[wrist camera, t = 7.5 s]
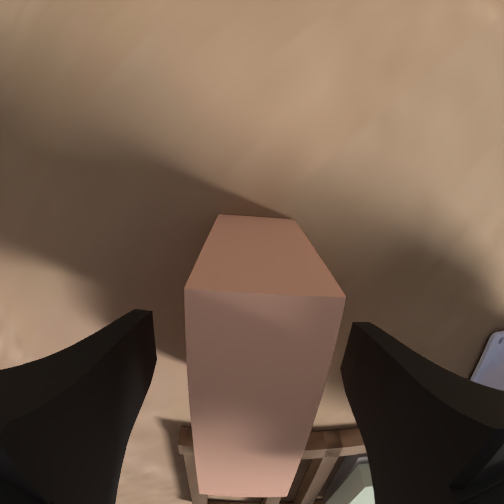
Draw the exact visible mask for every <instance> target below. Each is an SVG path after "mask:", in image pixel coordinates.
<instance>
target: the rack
mask: <svg viewBox="0 0 504 504" xmlns="http://www.w3.org/2000/svg"><path fill="white" fill-rule="evenodd" d="M178 450H179V454H183V455H184V461H185V467H186V473H187V478H188V483H189V489H190V494H191V499H192V504H324V502H323V499H322V500H315V499H316V498H317V496H318V494H319V492H320V491H321V489H322V487H323V485H324V484H325V482H326V480H327V478H328V476H329V474H330V472H331V471H332V469H333V467H334V465H335V463H336V461H337V459H338V457H339V456H347V455H355V454H363V453H366V449H365V445H364V442H363V439H362V436H361V433H360V431H359V428H353V429H342V430H330V431H313V432H310V435H309V438H308V441H307V444H306V447H305V450H304V453H303V455H302V458H301V459H312V460H311V462H310V465H309V467H308V470H307V472H306V474H305V477H304V479H303V481H302V483H301V486H300V488H299V490H298V492H297V495H296V497H295V499H294V501H293V502H280V499H281V497H263V498H262V501H261V503H248V502H225V501H212V500H208V497H207V495H206V494H199V487H198V480H197V472H196V464H195V455H194V446H193V436H192V428H191V427H183V426H181V431H180V436H179V441H178Z"/></svg>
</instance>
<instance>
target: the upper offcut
mask: <svg viewBox="0 0 504 504" xmlns="http://www.w3.org/2000/svg"><path fill="white" fill-rule="evenodd" d="M325 504H375V499H374V491H373V485H372V478H371V472H370V467H369V463H366V464H358V465H357V467H356V468H355V469H354V471H353V472H352V473H351V474H350V476H349V477H348V478H347V479H346V480H345V482H344V483H343V484H342V485H341V486H340V487H339V489H338V490H337V491H336V492H335V493H334V494H333V495H332V497H331V498H330V499H329V500H328V501H327V502H326V503H325Z"/></svg>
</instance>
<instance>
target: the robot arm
mask: <svg viewBox="0 0 504 504" xmlns="http://www.w3.org/2000/svg"><path fill="white" fill-rule="evenodd" d="M156 361H157V356H156V347H155V338H154V328H153V317H152V311H146V310H138V309H135V310H133V311H131V312H129V313H127V314H125V315H124V316H122V317H120V318H119V319H117V320H116V321H114V322H112V323H111V324H109V325H107V326H106V327H104V328H102V329H101V330H99V331H98V332H96V333H94V334H92V335H90V336H89V337H87V338H85V339H83V340H81V341H79V342H78V343H76V344H74V345H72V346H70V347H68V348H66V349H64V350H61V351H59V352H57V353H54V354H52V355H50V356H47V357H44V358H42V359H39V360H35V361H32V362H29V363H26V364H23V365H19V366H16V367H11V368H7V369H2V370H0V504H115V502H116V495H117V488H118V483H119V478H120V473H121V468H122V463H123V459H124V455H125V451H126V446H127V443H128V439H129V436H130V433H131V431H132V428H133V426H134V423H135V421H136V418H137V416H138V413H139V411H140V408H141V406H142V404H143V401H144V399H145V396H146V394H147V391H148V389H149V386H150V384H151V381H152V377H153V373H154V369H155V365H156ZM340 369H341V374H342V379H343V384H344V389H345V393H346V395H347V398H348V401H349V404H350V406H351V409H352V412H353V415H354V417H355V420H356V423H357V425H358V428H359V431H360V433H361V436H362V439H363V442H364V445H365V449H366V453H367V457H368V462H369V467H370V472H371V478H372V485H373V491H374V499H375V504H504V331H499V332H495V333H493V334H492V335H491V336H490V338H489V340H488V343H487V345H486V347H485V350H484V352H483V354H482V356H481V358H480V360H479V363H478V365H477V367H476V369H475V371H474V373H473V375H472V377H471V379H470V380H468V379H465V378H463V377H461V376H458V375H456V374H454V373H452V372H450V371H448V370H446V369H444V368H442V367H440V366H438V365H436V364H434V363H433V362H431V361H429V360H428V359H426V358H424V357H422V356H421V355H419V354H418V353H416V352H414V351H413V350H411V349H410V348H408V347H407V346H405V345H404V344H402V343H401V342H399V341H398V340H396V339H395V338H393V337H392V336H390V335H389V334H388V333H386V332H385V331H383V330H381V329H380V328H378V327H377V326H375V325H373V324H371V323H369V322H353V323H352V327H351V331H350V335H349V339H348V343H347V347H346V350H345V354H344V358H343V361H342V365H341V368H340Z"/></svg>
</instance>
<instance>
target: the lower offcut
mask: <svg viewBox="0 0 504 504" xmlns="http://www.w3.org/2000/svg"><path fill="white" fill-rule="evenodd" d="M366 463H369V462H368V457H367V453H363V454H355V455H347V456H345V457H344V459H343V461H342V463H341V465H340V467H339V469H338V471H337V472H336V474H335V476H334V478H333V480H332V481H331V483H330V485H329V487H328V488H327V490H326V492H325V494H324V495H323V502H324V504H325V503H326V502H327V501H328V500H329V499H330V498H331V497H332V495H333V494H334V493H335V492H336V491H337V490H338V489H339V487H340V486H341V485H342V484H343V483H344V482H345V480H346V479H347V478H348V477H349V476H350V474H351V473H352V472H353V471H354V469H355V468H356V467H357V465H358V464H366Z"/></svg>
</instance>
